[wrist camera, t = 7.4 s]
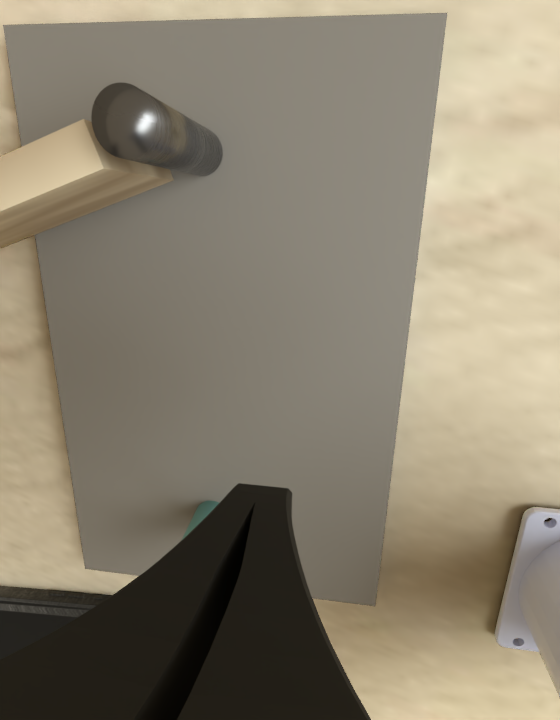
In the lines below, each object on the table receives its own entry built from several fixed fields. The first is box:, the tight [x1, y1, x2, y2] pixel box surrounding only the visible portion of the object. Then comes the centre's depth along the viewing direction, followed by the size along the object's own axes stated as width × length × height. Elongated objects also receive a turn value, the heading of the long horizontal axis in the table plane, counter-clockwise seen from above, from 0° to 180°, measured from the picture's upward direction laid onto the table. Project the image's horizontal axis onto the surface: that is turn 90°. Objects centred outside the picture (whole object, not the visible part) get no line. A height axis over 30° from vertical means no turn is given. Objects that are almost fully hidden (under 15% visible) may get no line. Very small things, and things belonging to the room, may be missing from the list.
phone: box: [0, 586, 112, 660], centre depth 27 cm, size 8×1×15 cm
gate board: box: [3, 13, 447, 606], centre depth 19 cm, size 15×24×1 cm, turn 178°
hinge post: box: [91, 82, 223, 176], centre depth 14 cm, size 2×2×7 cm
